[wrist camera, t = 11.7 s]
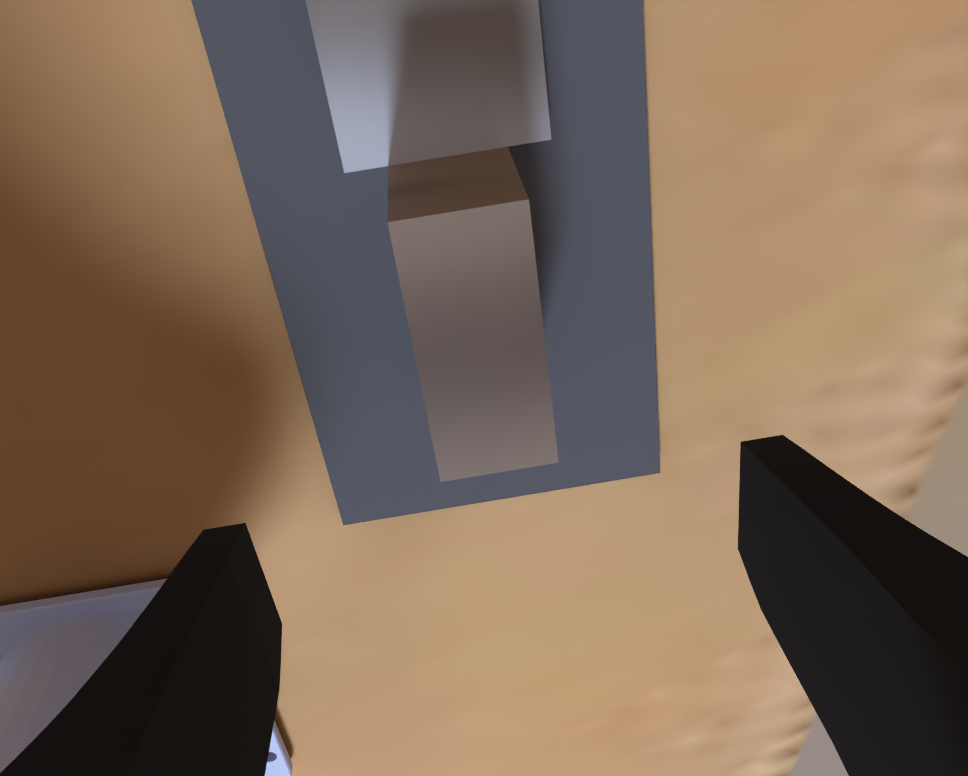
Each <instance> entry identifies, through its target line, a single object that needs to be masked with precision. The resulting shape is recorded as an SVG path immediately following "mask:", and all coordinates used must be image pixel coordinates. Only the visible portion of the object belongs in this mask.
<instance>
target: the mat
mask: <svg viewBox="0 0 968 776" xmlns="http://www.w3.org/2000/svg"><path fill="white" fill-rule="evenodd" d="M192 4H193V7H194V11H195V14H196V18H197V21H198V25H199V28H200V32H201V35H202V38H203V42H204V45H205V49H206V52H207V56H208V59H209V63H210V66H211V70H212V73H213V76H214V80H215V83H216V87H217V90H218V94H219V97H220V101H221V104H222V107H223V111H224V114H225V118H226V121H227V125H228V128H229V132H230V135H231V139H232V142H233V145H234V149H235V152H236V156H237V159H238V163H239V166H240V170H241V173H242V177H243V180H244V183H245V187H246V190H247V194H248V197H249V201H250V204H251V208H252V211H253V215H254V218H255V221H256V225H257V228H258V232H259V235H260V239H261V242H262V246H263V249H264V253H265V256H266V259H267V263H268V266H269V270H270V273H271V277H272V280H273V284H274V287H275V291H276V294H277V297H278V301H279V304H280V308H281V311H282V315H283V318H284V322H285V325H286V329H287V332H288V335H289V339H290V342H291V346H292V349H293V353H294V356H295V360H296V363H297V367H298V370H299V373H300V377H301V380H302V384H303V387H304V391H305V394H306V398H307V401H308V405H309V408H310V411H311V415H312V418H313V422H314V425H315V429H316V432H317V436H318V439H319V443H320V446H321V449H322V453H323V456H324V460H325V463H326V467H327V470H328V474H329V477H330V481H331V484H332V487H333V491H334V494H335V498H336V501H337V505H338V508H339V512H340V515H341V519H342V522H343V525H347V524H353V523H359V522H365V521H372V520H378V519H384V518H390V517H396V516H402V515H408V514H414V513H420V512H426V511H432V510H438V509H444V508H450V507H456V506H462V505H468V504H475V503H481V502H487V501H493V500H499V499H505V498H511V497H517V496H523V495H529V494H535V493H541V492H547V491H553V490H559V489H565V488H571V487H578V486H584V485H590V484H596V483H602V482H608V481H614V480H620V479H626V478H632V477H638V476H644V475H650V474H656V473H660V454H659V427H658V400H657V373H656V346H655V319H654V292H653V265H652V237H651V210H650V183H649V156H648V129H647V102H646V75H645V48H644V21H643V0H538V4H539V14H540V25H541V35H542V46H543V56H544V67H545V77H546V88H547V98H548V109H549V119H550V130H551V140H546V141H539V142H533V143H527V144H521V145H515V146H509V147H508V148H509V151H510V153H511V156H512V158H513V161H514V163H515V166H516V168H517V171H518V173H519V176H520V178H521V181H522V183H523V186H524V188H525V191H526V193H527V196H528V198H529V204H530V213H531V222H532V231H533V240H534V248H535V257H536V266H537V275H538V284H539V293H540V302H541V310H542V319H543V328H544V337H545V346H546V355H547V364H548V372H549V381H550V390H551V399H552V408H553V417H554V425H555V434H556V443H557V452H558V461H559V463H553V464H547V465H541V466H535V467H529V468H523V469H517V470H511V471H505V472H498V473H492V474H486V475H480V476H474V477H468V478H462V479H456V480H450V481H444V482H441V481H440V476H439V471H438V467H437V462H436V457H435V452H434V447H433V442H432V437H431V432H430V428H429V423H428V418H427V413H426V408H425V403H424V398H423V393H422V389H421V384H420V379H419V374H418V369H417V364H416V359H415V354H414V350H413V345H412V340H411V335H410V330H409V325H408V320H407V315H406V311H405V306H404V301H403V296H402V291H401V286H400V281H399V276H398V271H397V267H396V262H395V257H394V252H393V247H392V242H391V237H390V232H389V228H388V223H387V215H388V166H386V167H379V168H373V169H367V170H361V171H355V172H349V173H344V169H343V165H342V160H341V156H340V152H339V147H338V143H337V138H336V134H335V129H334V125H333V121H332V116H331V112H330V107H329V103H328V98H327V94H326V90H325V85H324V81H323V76H322V72H321V67H320V63H319V58H318V54H317V50H316V45H315V41H314V36H313V32H312V27H311V23H310V19H309V14H308V10H307V5H306V1H305V0H192Z"/></svg>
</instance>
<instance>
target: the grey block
mask: <svg viewBox="0 0 968 776" xmlns="http://www.w3.org/2000/svg"><path fill="white" fill-rule="evenodd" d="M305 1H306V5H307V10H308V14H309V19H310V23H311V27H312V32H313V36H314V41H315V45H316V50H317V54H318V58H319V63H320V67H321V72H322V76H323V81H324V85H325V90H326V94H327V98H328V103H329V107H330V112H331V116H332V121H333V125H334V129H335V134H336V138H337V143H338V147H339V152H340V156H341V160H342V165H343V169H344V173H349V172H355V171H361V170H367V169H373V168H379V167H386V166H388V215H387V223H388V228H389V232H390V237H391V242H392V247H393V252H394V257H395V262H396V267H397V271H398V276H399V281H400V286H401V291H402V296H403V301H404V306H405V311H406V315H407V320H408V325H409V330H410V335H411V340H412V345H413V350H414V354H415V359H416V364H417V369H418V374H419V379H420V384H421V389H422V393H423V398H424V403H425V408H426V413H427V418H428V423H429V428H430V432H431V437H432V442H433V447H434V452H435V457H436V462H437V467H438V471H439V476H440V481H441V482H444V481H450V480H456V479H462V478H468V477H474V476H480V475H486V474H492V473H498V472H505V471H511V470H517V469H523V468H529V467H535V466H541V465H547V464H553V463H559V461H558V452H557V443H556V434H555V425H554V417H553V408H552V399H551V390H550V381H549V372H548V364H547V355H546V346H545V337H544V328H543V319H542V310H541V302H540V293H539V284H538V275H537V266H536V257H535V248H534V240H533V231H532V222H531V213H530V204H529V198H528V196H527V193H526V191H525V188H524V186H523V183H522V181H521V178H520V176H519V173H518V171H517V168H516V166H515V163H514V161H513V158H512V156H511V153H510V151H509V148H508V147H509V146H515V145H521V144H527V143H533V142H539V141H546V140H551V130H550V119H549V109H548V98H547V88H546V77H545V67H544V56H543V46H542V35H541V25H540V14H539V4H538V0H305Z"/></svg>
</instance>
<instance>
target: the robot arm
mask: <svg viewBox="0 0 968 776" xmlns="http://www.w3.org/2000/svg"><path fill="white" fill-rule="evenodd" d="M738 550H739V553H740V555H741V558H742V561H743V563H744V566H745V569H746V572H747V574H748V577H749V580H750V582H751V585H752V587H753V590H754V592H755V595H756V597H757V600H758V603H759V605H760V608H761V610H762V612H763V614H764V616H765V618H766V620H767V622H768V623H769V625H770V627H771V629H772V631H773V633H774V635H775V637H776V638H777V640H778V642H779V644H780V646H781V648H782V650H783V652H784V653H785V655H786V657H787V659H788V661H789V663H790V665H791V666H792V668H793V670H794V672H795V674H796V676H797V678H798V679H799V681H800V683H801V685H802V687H803V689H804V690H805V692H806V694H807V696H808V698H809V700H810V702H811V703H812V705H813V707H814V709H815V711H816V713H817V714H818V716H819V718H820V720H821V722H822V724H823V725H824V727H825V729H826V731H827V733H828V735H829V737H830V738H831V740H832V742H833V744H834V746H835V748H836V750H837V752H838V754H839V756H840V758H841V760H842V762H843V765H844V766H845V769H846V771H847V773H848V775H849V776H968V557H967V556H965V555H963V554H962V553H960V552H958V551H957V550H955V549H953V548H952V547H950V546H948V545H946V544H944V543H943V542H941V541H940V540H938V539H936V538H935V537H933V536H931V535H929V534H928V533H926V532H924V531H923V530H921V529H920V528H918V527H916V526H915V525H913V524H912V523H910V522H909V521H907V520H905V519H904V518H902V517H901V516H899V515H898V514H896V513H894V512H893V511H891V510H890V509H888V508H887V507H885V506H884V505H882V504H881V503H879V502H878V501H876V500H875V499H873V498H872V497H870V496H869V495H867V494H866V493H865V492H863V491H862V490H860V489H859V488H857V487H856V486H854V485H853V484H851V483H850V482H849V481H847V480H846V479H844V478H843V477H842V476H840V475H839V474H837V473H836V472H834V471H833V470H832V469H830V468H829V467H827V466H826V465H825V464H823V463H822V462H820V461H819V460H818V459H816V458H815V457H813V456H812V455H811V454H809V453H808V452H806V451H805V450H804V449H802V448H801V447H799V446H798V445H797V444H795V443H794V442H792V441H791V440H789V439H788V438H786V437H785V436H783V435H780V436H774V437H767V438H761V439H755V440H749V441H743V442H741V452H740V491H739V530H738ZM281 637H282V623H281V620H280V617H279V614H278V612H277V609H276V606H275V603H274V601H273V598H272V595H271V592H270V590H269V587H268V584H267V581H266V579H265V576H264V573H263V570H262V568H261V565H260V562H259V559H258V557H257V554H256V551H255V548H254V546H253V543H252V540H251V537H250V535H249V532H248V529H247V526H246V524H245V523H243V524H237V525H230V526H224V527H218V528H212V529H206V530H203V531H202V533H201V534H200V535H199V536H198V538H197V539H196V540H195V542H194V543H193V544H192V546H191V547H190V548H189V550H188V551H187V552H186V554H185V555H184V556H183V558H182V559H181V560H180V562H179V563H178V565H177V566H176V567H175V569H174V570H173V571H172V573H171V574H170V576H169V577H168V578H167V579H161V580H155V581H149V582H143V583H137V584H131V585H125V586H119V587H113V588H107V589H101V590H95V591H89V592H83V593H77V594H71V595H65V596H59V597H53V598H47V599H40V600H34V601H28V602H22V603H16V604H10V605H4V606H0V776H291V775H292V762H291V759H290V757H289V754H288V752H287V750H286V747H285V745H284V742H283V740H282V737H281V735H280V732H279V730H278V727H277V725H276V723H275V720H274V719H275V713H276V707H277V700H278V694H279V685H280V666H281Z"/></svg>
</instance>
